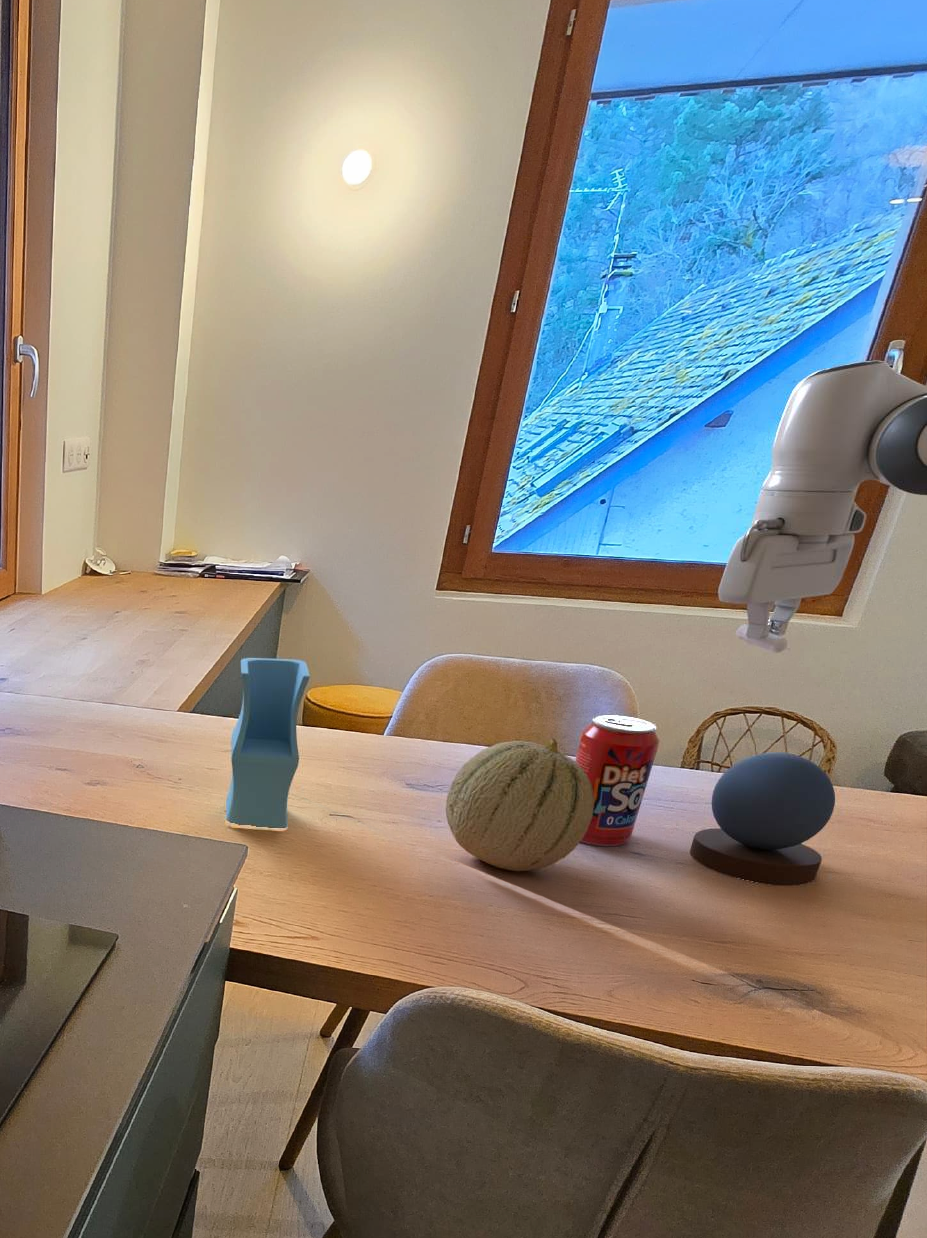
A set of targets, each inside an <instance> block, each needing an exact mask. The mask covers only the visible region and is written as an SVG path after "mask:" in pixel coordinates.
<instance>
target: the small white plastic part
mask: <svg viewBox="0 0 927 1238" xmlns="http://www.w3.org/2000/svg"><path fill="white" fill-rule="evenodd" d="M748 625H749V623H748V624H747V623H744V624H741V625H740V626H739V627H738V628H737V630H736V632H735V636H736V637H738V639H739V640H742V641H745V642H747V643H748V644H749V645H752V646H753V645H754V646H757V647H760V648H762V649H764V650H767V651H769V652H772V653H773V654H779V653H782V652H784V651H785V650H789V651H791V649H790V648H788V645H789V641H788V639H787V638H785V637H784V636H778V635H775V634H773V633H770V632H769V635H768V637H767V638H763V639H750V638H747V637H746V632H747V628H748Z"/></svg>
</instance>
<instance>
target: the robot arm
mask: <svg viewBox="0 0 927 1238" xmlns="http://www.w3.org/2000/svg"><path fill="white" fill-rule="evenodd" d="M773 441H774V442H773V444H772V445H773V446H772V449H771V459H772V461H771V468H770V470H769V473H768V475H767V477H766V479H765V480H764V482H763V484H762V486H761V488H760V492H759V495H758V498H757V503H756V505H755V508H754V509H755V510H754V514H753V516H752V521H751V524H750V528H749V529H748V530H746V532H745V533H744V535H743V536H740V537H739V539H737V541H736V542H735V544H734V545H733V547H732V550H731V552H730V555H729V557H728V560H727V562H726V565H725V568H724V571H723V574H722V577H721V580H720V583H719V586H718V591H717V594H718V600H719V602H721V603H728V604H729V603H730V604H737V605H747V607H746V615H747V623H748V624H749V625H748V624H747V625H748V628H747V632H746V637H747V638H750V639H763V638H767V637H768V635H769V632H770V633H773V634H775V635H778V636H780V637H783V636H784V635H785V634H786V631H787V630H788V629H787V628H788V624H789V623H790V622H791V619H793V617H794V616H795V614H796V613H797V611H798V609H799V608H800V606H801V602H802V599H804V598H811V597H820V596H828V595H832V593H833V592H835V590H836V589H837V587H838V586H839V584H840V582H841V580H842V579H843V576H844V573H845V571H846V568H847V566H848V563H849V560H850V558H851V555H852V552H853V549H854V545H855V535H854V534H858V533H860V532H862V531H863V529H864V527H865V524H866V521H867V513H866V512H865V511H863V509H861V508H860V507H859V506H858V505H857V502H855V500H856V499H855V498H856V495H857V491H858V489H859V486H860V484H862V483H863V482H865V481H868V480H870V481H877V482H879V483H881V484H884V485H886V486H890V487H893V488H897V489H899V490H900V491H903V492H906V493H908V494H912V495H919V496H927V385H925V384H922V383H920V382H918V381H915V380H913V379H910V378H909V377H907V376H905V375H903V374H901V373H899V372H898V371H896V370H895V369H893V368H892V367H890V365H889V364H888V362H886V361H883V360H874V359H873V360H865V361H857V362H852V363H847V364H842V365H837V366H833V367H829V368H823V369H820V370H819V369H818V370H817V371H815V372H813V373H811V374H809V375H807V376H806V377H805V378H803V379H802V380H801V381H799V383H798V384H796V386H795V388H794V389H793V390H792V393H791V394H790V397H789V399H788V401H787V403H786V406H785V408H784V411H783V413H782V416H781V419H780V422H779V425H778V428H777V431H776V435H775V437H774V440H773ZM771 611H772V614H771V613H770V612H771ZM770 614H771V616H770Z"/></svg>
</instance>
